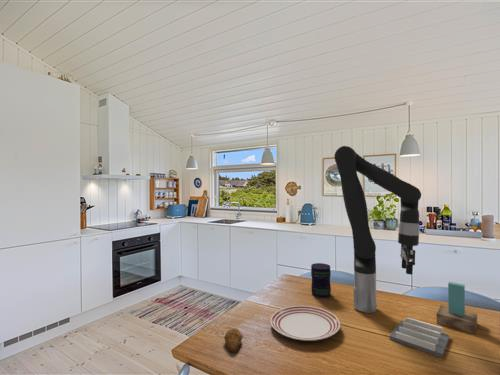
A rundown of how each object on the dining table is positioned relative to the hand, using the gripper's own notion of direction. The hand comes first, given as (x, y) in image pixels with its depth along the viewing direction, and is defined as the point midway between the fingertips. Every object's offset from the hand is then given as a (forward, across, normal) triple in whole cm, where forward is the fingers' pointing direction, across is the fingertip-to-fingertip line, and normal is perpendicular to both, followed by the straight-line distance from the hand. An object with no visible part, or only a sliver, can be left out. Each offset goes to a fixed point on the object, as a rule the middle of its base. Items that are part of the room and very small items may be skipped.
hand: (406, 271), depth 115 cm
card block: (+15, 0, +19) cm, 24 cm away
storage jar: (+22, -15, -35) cm, 44 cm away
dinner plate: (+23, +20, -39) cm, 50 cm away
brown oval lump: (+25, +38, -63) cm, 78 cm away
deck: (+19, 0, +19) cm, 27 cm away
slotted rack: (+20, +16, +2) cm, 26 cm away
